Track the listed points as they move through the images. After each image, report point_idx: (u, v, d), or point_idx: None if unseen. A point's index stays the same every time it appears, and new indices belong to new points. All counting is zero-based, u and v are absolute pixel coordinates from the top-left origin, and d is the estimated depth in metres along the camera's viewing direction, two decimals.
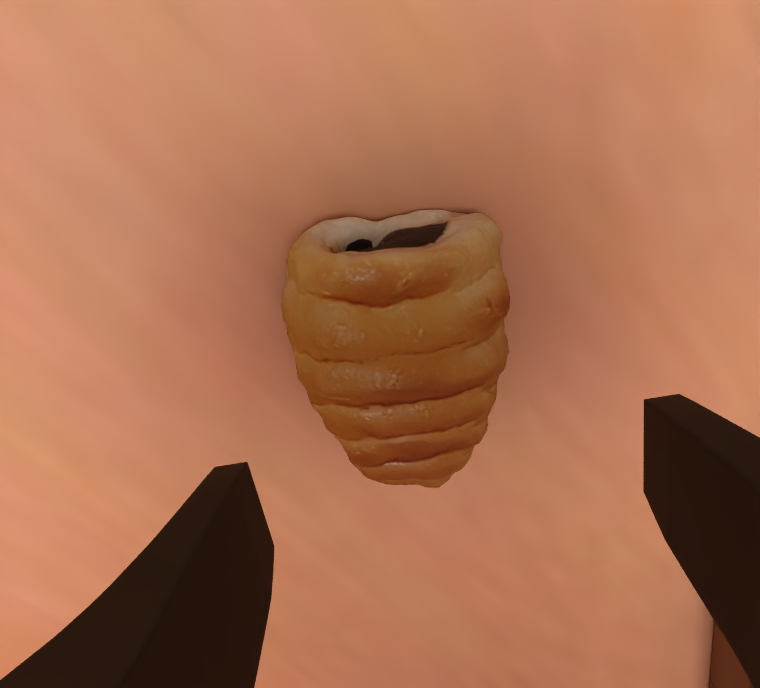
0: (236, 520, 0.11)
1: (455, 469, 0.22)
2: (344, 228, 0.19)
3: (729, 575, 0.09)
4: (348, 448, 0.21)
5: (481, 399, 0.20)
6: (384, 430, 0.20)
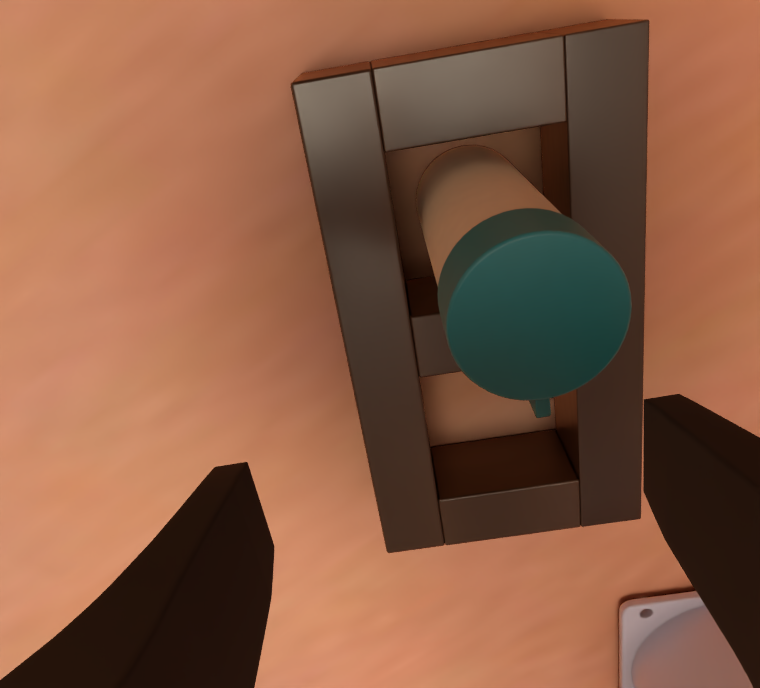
0: (236, 520, 0.11)
1: None
2: None
3: (729, 575, 0.09)
4: None
5: None
6: None
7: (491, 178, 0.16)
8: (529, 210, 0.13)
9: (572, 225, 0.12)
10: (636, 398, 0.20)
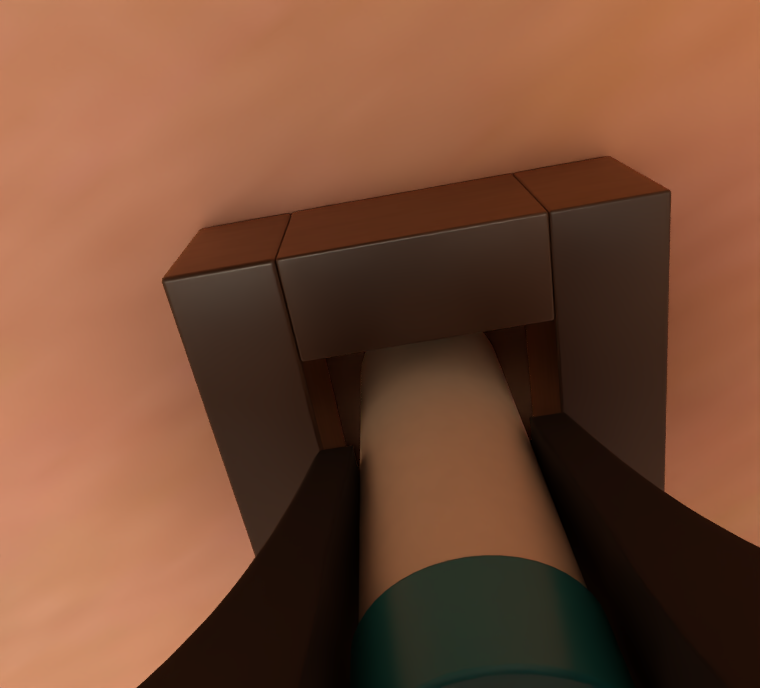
0: (352, 503, 0.11)
1: None
2: None
3: None
4: None
5: None
6: None
7: (444, 422, 0.11)
8: (486, 568, 0.08)
9: (555, 619, 0.07)
10: None
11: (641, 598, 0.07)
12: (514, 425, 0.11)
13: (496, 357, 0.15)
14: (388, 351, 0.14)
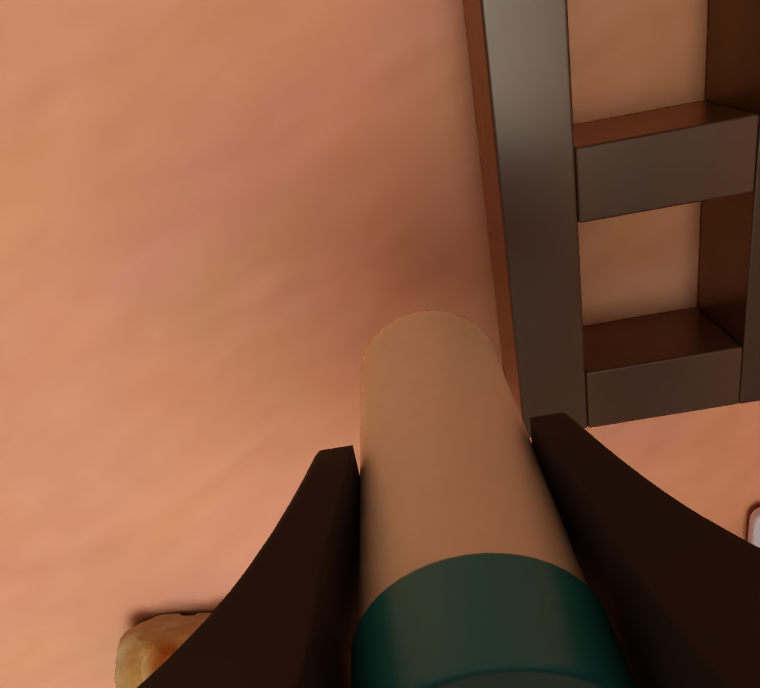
0: (352, 503, 0.11)
1: None
2: None
3: None
4: None
5: None
6: None
7: (444, 420, 0.11)
8: (487, 566, 0.08)
9: (556, 616, 0.07)
10: None
11: (641, 598, 0.07)
12: (514, 423, 0.11)
13: (496, 356, 0.15)
14: (388, 350, 0.14)
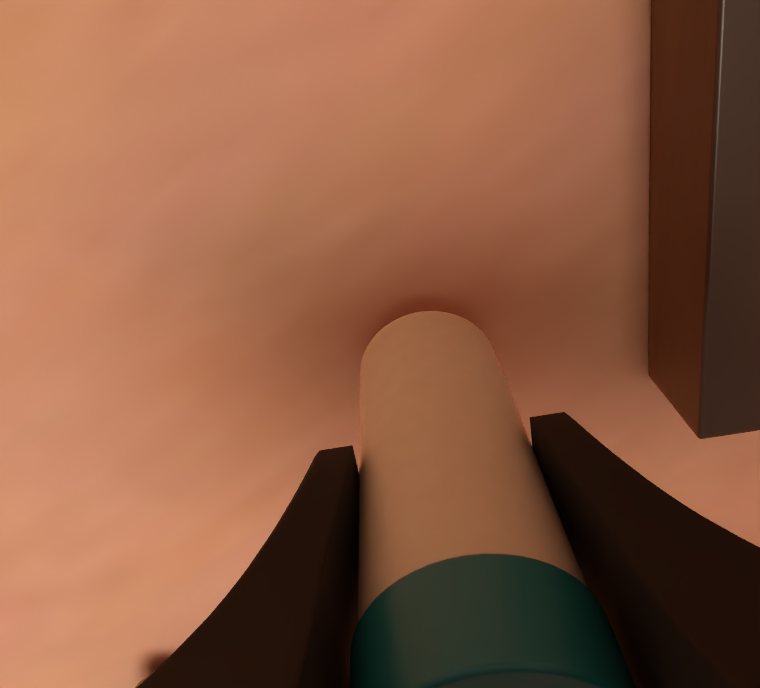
0: (352, 502, 0.11)
1: None
2: None
3: None
4: None
5: None
6: None
7: (443, 421, 0.11)
8: (487, 566, 0.08)
9: (555, 617, 0.07)
10: None
11: (641, 598, 0.07)
12: (514, 424, 0.11)
13: (495, 356, 0.15)
14: (387, 350, 0.14)
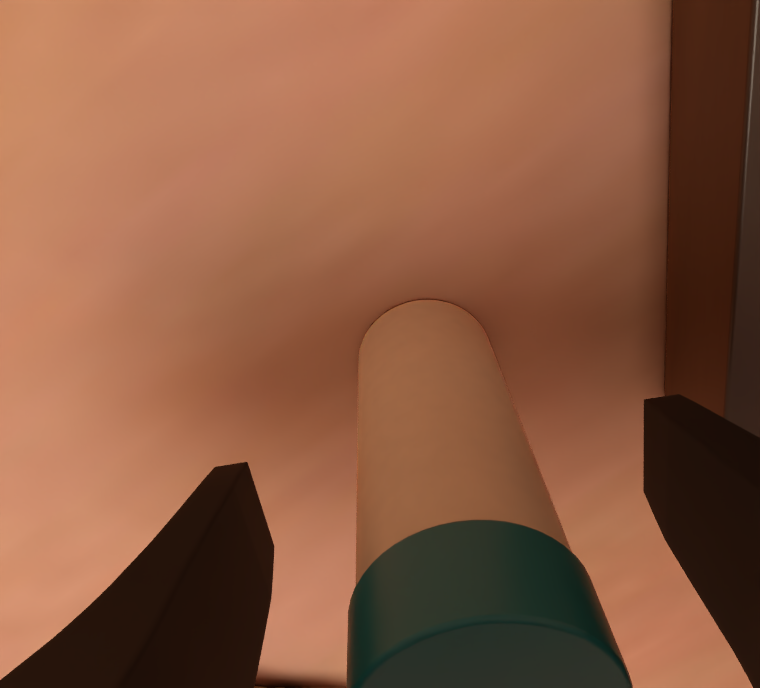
0: (236, 520, 0.11)
1: None
2: None
3: (729, 575, 0.09)
4: None
5: None
6: None
7: (438, 401, 0.11)
8: (476, 531, 0.08)
9: (540, 576, 0.08)
10: None
11: None
12: (505, 405, 0.12)
13: (489, 343, 0.15)
14: (385, 337, 0.14)
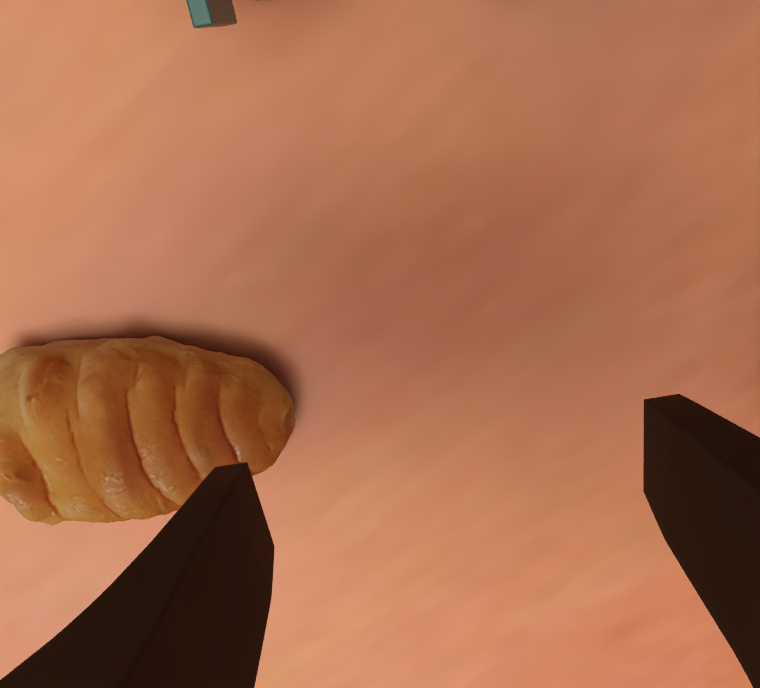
0: (236, 520, 0.11)
1: (248, 394, 0.21)
2: None
3: (729, 575, 0.09)
4: None
5: (143, 388, 0.20)
6: (184, 473, 0.21)
7: None
8: None
9: None
10: None
11: None
12: None
13: None
14: None
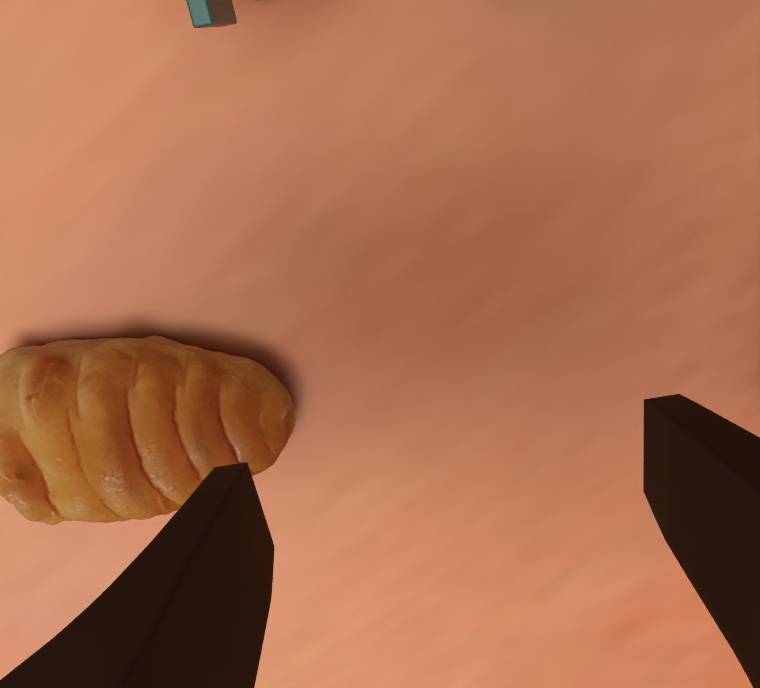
0: (236, 520, 0.11)
1: (248, 394, 0.21)
2: None
3: (729, 575, 0.09)
4: None
5: (143, 388, 0.20)
6: (184, 473, 0.21)
7: None
8: None
9: None
10: None
11: None
12: None
13: None
14: None
